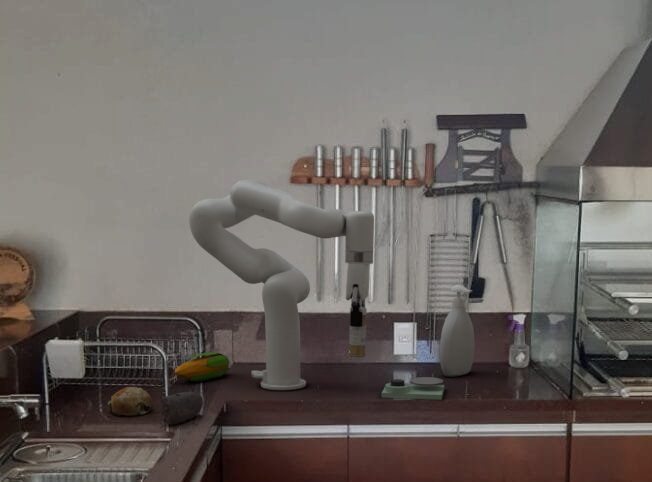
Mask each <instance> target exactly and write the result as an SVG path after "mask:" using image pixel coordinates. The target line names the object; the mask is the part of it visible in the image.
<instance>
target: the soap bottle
mask: <svg viewBox="0 0 652 482" xmlns="http://www.w3.org/2000/svg"><path fill="white" fill-rule="evenodd" d="M450 292H451V293H456V297H453V299H451V309H450V311H449V312H448V314H447V315H446V317H445V320H444V322H443V326H442V329H441V334H440V342H439V363H440V369H441V371H442V374H443V375H444V376H445V377H449V378H454V377H460V376H466V375H467V374H469V373H470V372H471V370H472V367H473V363H474V358H475V331H474V330H475V329H474V324H473V322H472V319H471V317H470V315H469V313H468V312H467V310H466V308H465V307H466V305H465V302H466V300H465V299H464V298H463V297H461V293H467V294H470V293H473V289H468V288H467V287H465V286H463V285H462V284H456V285H454V286H452V287H451V288H450Z"/></svg>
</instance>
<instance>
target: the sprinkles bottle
mask: <svg viewBox="0 0 652 482" xmlns="http://www.w3.org/2000/svg"><path fill="white" fill-rule="evenodd" d="M367 311H368V310H367V307H366V306H365V307H362V310H361V312H363V315H362V327H352V326H350V325H349V340H348V341H349V352H348V355H349V357H352V358H364V357H366V339H367V322H366V321H367V318H366V317H367V313H368V312H367ZM350 312H351V306H350V307H349V313H350Z"/></svg>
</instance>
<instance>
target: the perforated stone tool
mask: <svg viewBox="0 0 652 482" xmlns="http://www.w3.org/2000/svg"><path fill="white" fill-rule="evenodd" d="M160 403H161V407H160V412H159V413H160V414H161V416H162V422H164V424H167V425H171V426H172V425H177V424H182V423H184V422H186V421H189V420H191V419H193V418H195V417H197V415H198V414H199V413H200V412H201V411H202V408H203V404H204V401H203V397H202V396H201V394H199V393H198V392H194V391H183V392H178V393H174V394H171V395H167V396H163V397H161V398H160Z"/></svg>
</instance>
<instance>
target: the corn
mask: <svg viewBox="0 0 652 482" xmlns="http://www.w3.org/2000/svg"><path fill="white" fill-rule="evenodd" d="M193 358H194V359H193ZM188 359H191V360H189V361H187V362H184V363H182V364H181V365H179V366H177V367H176V368H175V370H174V372H173V375H174V376H176V377H177V378H181V379H182V378H183V379H189V381H190V382H205V381H210V380H212V379H217V378H221V377H222V376H223V375H224V374H225V373H227V371H228V370H229V369H228V368H229V365H230V363H231V362H230V359H229V358H228V356H227V355H226V354H225V355H224V354H223V353H220V352H218V351H207V352H202V353H199V354H195V355H192V356H189V357H188Z"/></svg>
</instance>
